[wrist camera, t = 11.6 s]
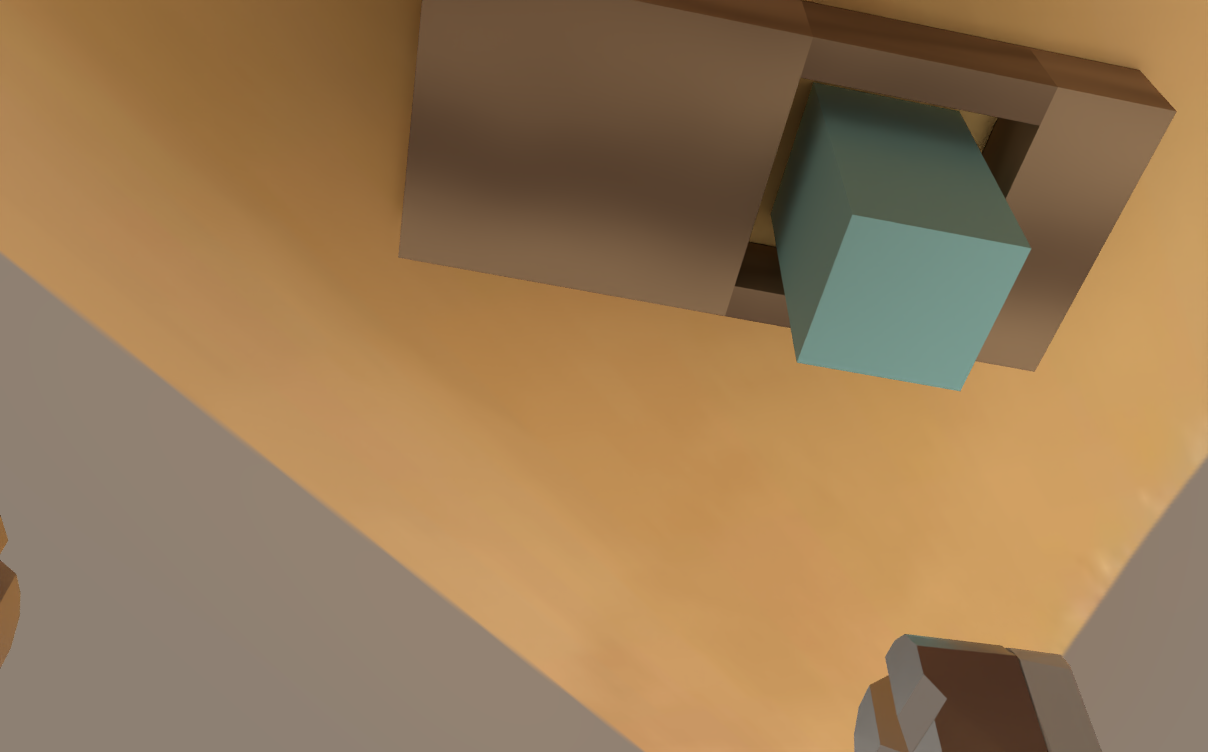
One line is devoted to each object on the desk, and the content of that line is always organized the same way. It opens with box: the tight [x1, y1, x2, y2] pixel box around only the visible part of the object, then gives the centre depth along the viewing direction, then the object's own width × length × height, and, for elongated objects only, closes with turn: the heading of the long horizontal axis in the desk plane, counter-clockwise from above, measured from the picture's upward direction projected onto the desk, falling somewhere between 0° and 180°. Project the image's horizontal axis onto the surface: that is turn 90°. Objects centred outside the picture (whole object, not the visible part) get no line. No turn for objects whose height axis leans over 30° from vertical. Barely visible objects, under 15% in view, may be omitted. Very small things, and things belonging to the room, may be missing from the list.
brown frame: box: [398, 0, 1176, 372], centre depth 29 cm, size 8×18×2 cm, turn 79°
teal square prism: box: [771, 82, 1031, 391], centre depth 28 cm, size 4×4×7 cm
